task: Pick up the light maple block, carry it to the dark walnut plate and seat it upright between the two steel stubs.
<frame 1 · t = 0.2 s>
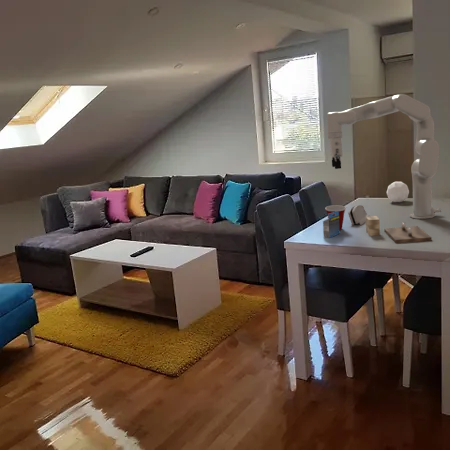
hand: (336, 167, 267), 31 cm above the table, tool pointing down, fingers open, 9 cm apart
white rounded slab: (359, 222, 273), on the table
geodesic sphere: (397, 202, 313), on the table
maple block: (373, 233, 246), on the table
plastic cup: (336, 229, 261), on the table
label tape box: (331, 235, 250), on the table
stub plate: (406, 235, 235), on the table
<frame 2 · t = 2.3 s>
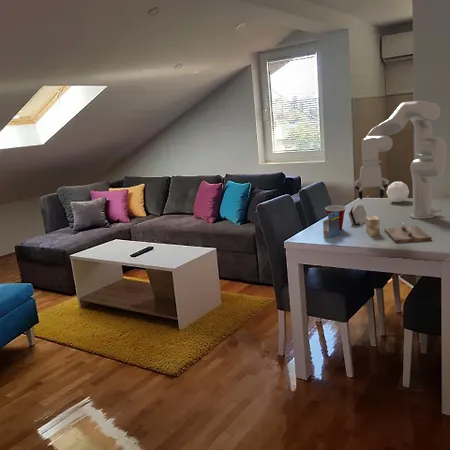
hand: (371, 198, 241), 18 cm above the table, tool pointing down, fingers open, 9 cm apart
nothing on the table moved.
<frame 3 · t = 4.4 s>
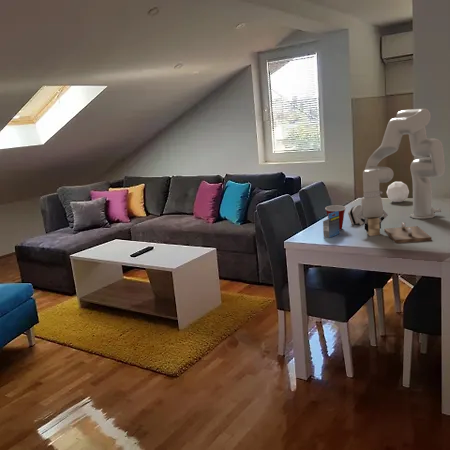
hand: (372, 230, 245), 2 cm above the table, tool pointing down, fingers closed on maple block, 5 cm apart
maple block: (372, 233, 246), on the table, touching gripper
everything else where it was.
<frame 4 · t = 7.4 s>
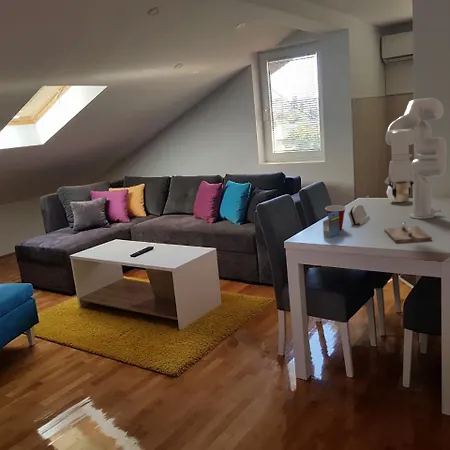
hand: (401, 195, 233), 19 cm above the table, tool pointing down, fingers closed on maple block, 5 cm apart
maple block: (401, 199, 233), point 18 cm above the table, touching gripper
everything else where it was.
when the fingers open (4 cm above the table, at t = 10.4 s): maple block stays where it is, resting on stub plate.
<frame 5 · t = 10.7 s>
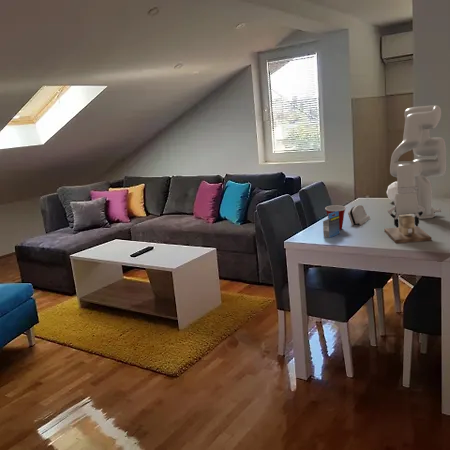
hand: (406, 226, 234), 5 cm above the table, tool pointing down, fingers open, 8 cm apart
maple block: (406, 232, 235), point 1 cm above the table, touching stub plate
everything else where it was.
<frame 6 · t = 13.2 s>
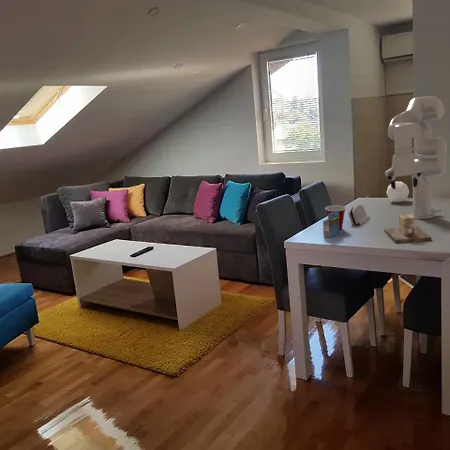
hand: (404, 187, 232), 23 cm above the table, tool pointing down, fingers open, 9 cm apart
nothing on the table moved.
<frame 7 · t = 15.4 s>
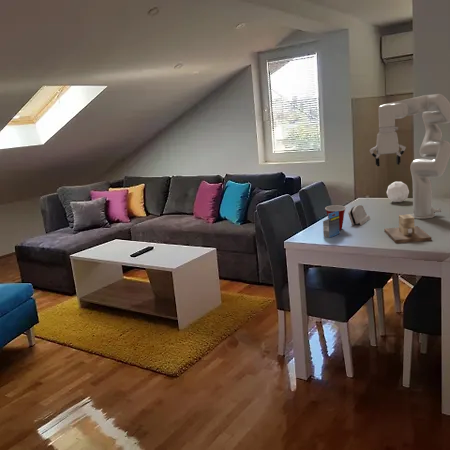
hand: (388, 165, 245), 32 cm above the table, tool pointing down, fingers open, 9 cm apart
nothing on the table moved.
at the end: maple block 0.0 cm off-centre on the stub plate, point 1.5 cm above the stub plate's base; maple block tilted 0°; the gripper is holding nothing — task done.
